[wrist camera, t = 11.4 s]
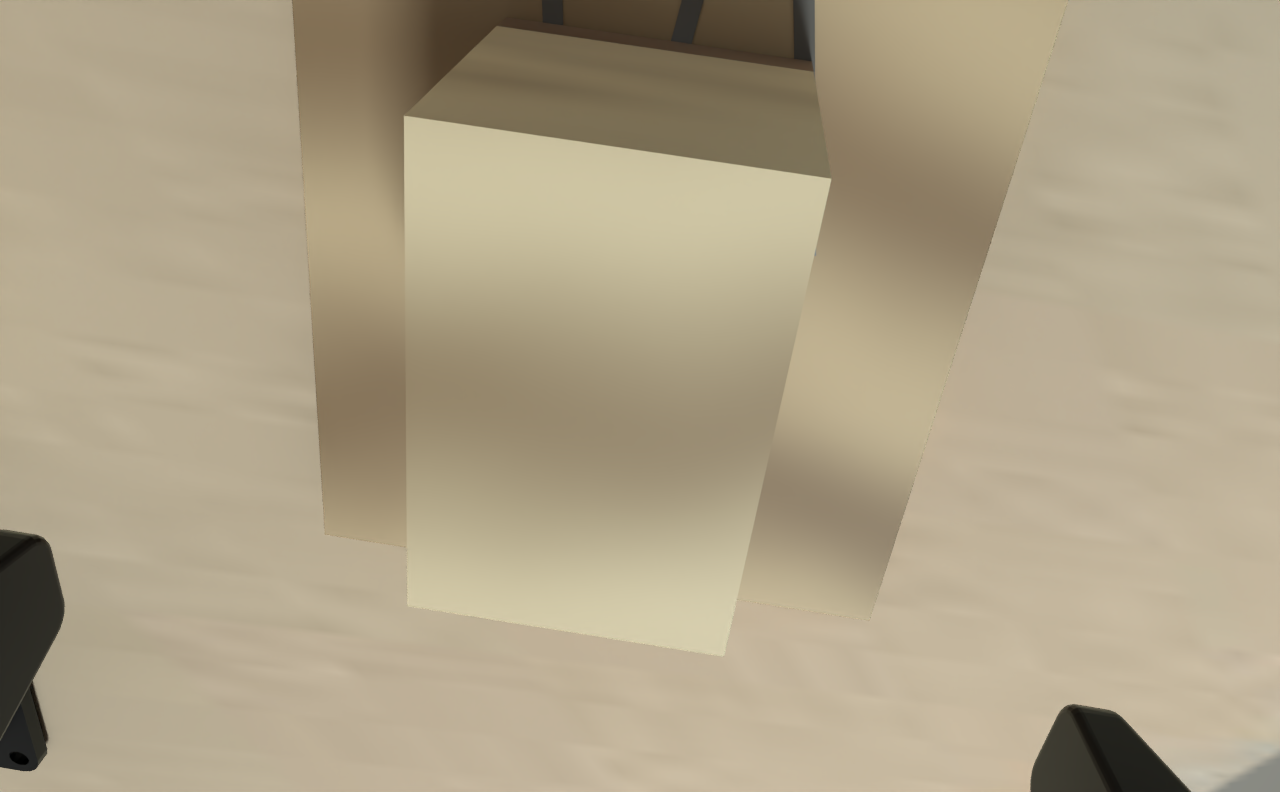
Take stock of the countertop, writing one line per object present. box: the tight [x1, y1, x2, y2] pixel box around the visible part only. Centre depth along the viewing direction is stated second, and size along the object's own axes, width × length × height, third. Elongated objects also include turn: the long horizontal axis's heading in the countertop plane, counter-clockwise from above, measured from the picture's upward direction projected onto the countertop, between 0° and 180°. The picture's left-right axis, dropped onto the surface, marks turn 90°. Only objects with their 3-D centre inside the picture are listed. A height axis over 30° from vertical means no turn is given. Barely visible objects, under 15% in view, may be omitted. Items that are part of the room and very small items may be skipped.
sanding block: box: [404, 17, 832, 657], centre depth 15 cm, size 7×4×5 cm, turn 173°
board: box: [292, 0, 1068, 621], centre depth 16 cm, size 18×11×1 cm, turn 173°
